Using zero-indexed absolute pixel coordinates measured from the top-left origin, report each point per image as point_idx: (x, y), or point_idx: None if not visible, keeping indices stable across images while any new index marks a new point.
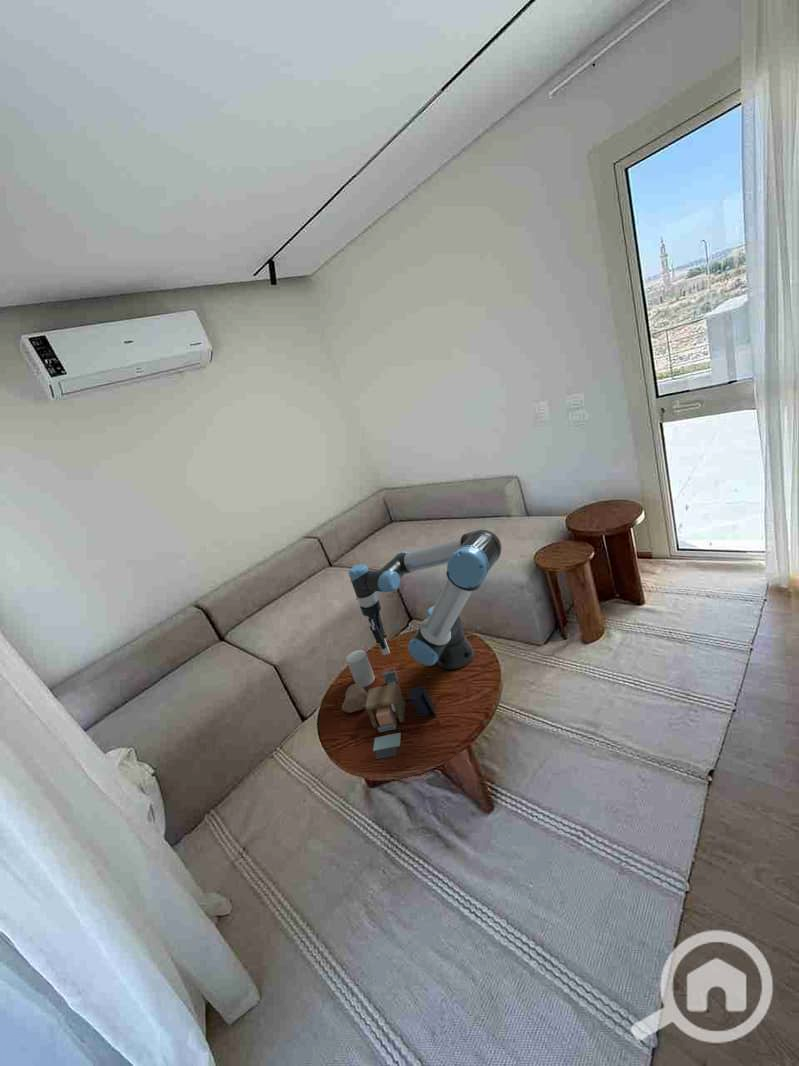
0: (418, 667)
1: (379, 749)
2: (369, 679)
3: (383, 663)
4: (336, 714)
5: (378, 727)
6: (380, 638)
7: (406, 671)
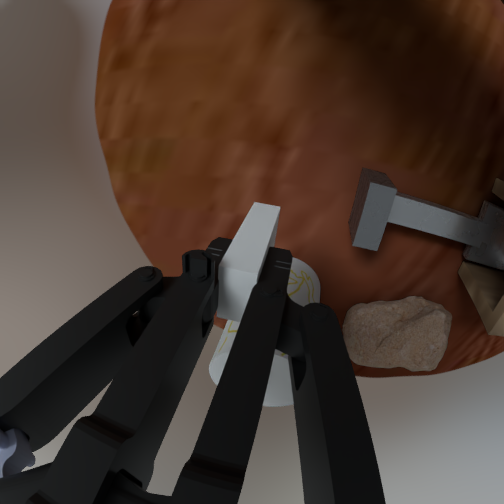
0: (311, 59)
1: None
2: (314, 285)
3: (203, 212)
4: None
5: None
6: (347, 374)
7: (314, 118)
